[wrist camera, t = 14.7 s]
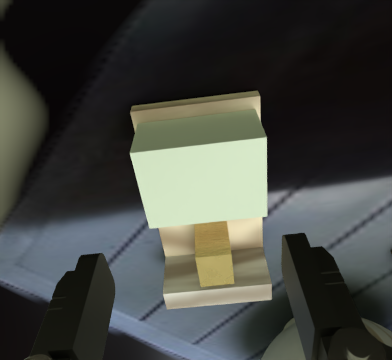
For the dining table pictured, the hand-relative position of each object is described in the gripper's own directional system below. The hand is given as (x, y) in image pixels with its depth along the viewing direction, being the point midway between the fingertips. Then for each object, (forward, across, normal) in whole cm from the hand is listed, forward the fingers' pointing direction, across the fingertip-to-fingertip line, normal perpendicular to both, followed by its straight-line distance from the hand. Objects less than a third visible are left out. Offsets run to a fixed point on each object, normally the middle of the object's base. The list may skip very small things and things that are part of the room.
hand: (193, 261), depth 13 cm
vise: (+26, 0, +16) cm, 30 cm away
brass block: (+24, 0, +22) cm, 32 cm away
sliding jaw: (+24, 0, +10) cm, 26 cm away
